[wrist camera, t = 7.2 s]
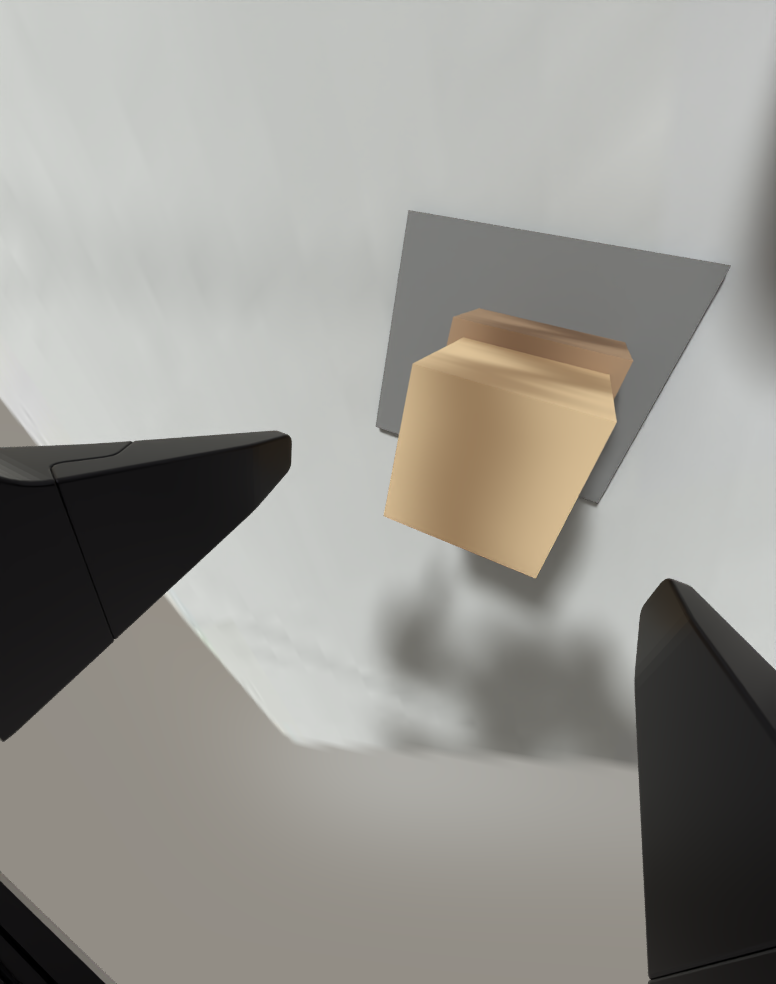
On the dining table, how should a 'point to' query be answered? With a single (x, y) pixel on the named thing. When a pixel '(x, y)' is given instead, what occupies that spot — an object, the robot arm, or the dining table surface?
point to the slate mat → (546, 307)
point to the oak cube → (497, 449)
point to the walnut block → (545, 342)
